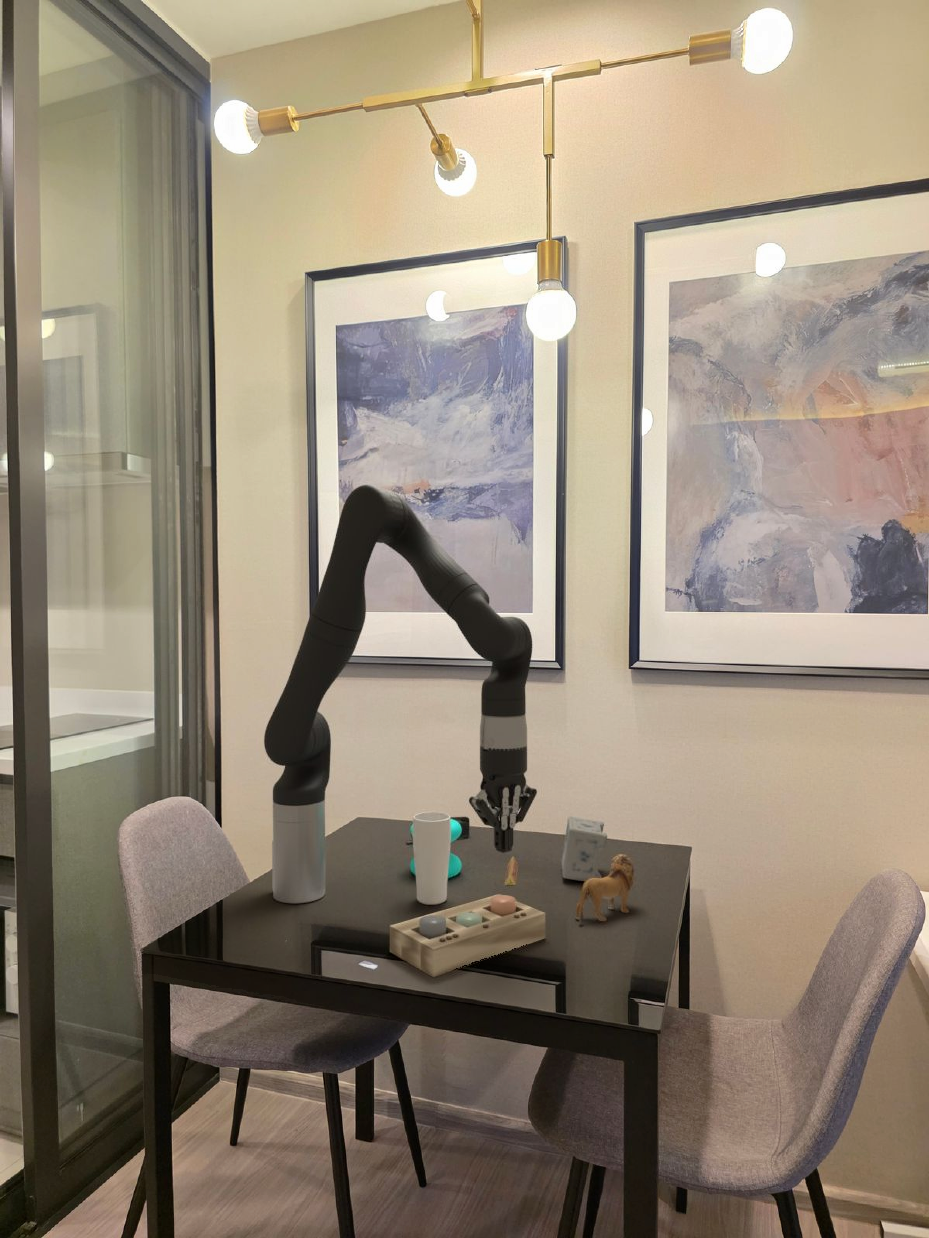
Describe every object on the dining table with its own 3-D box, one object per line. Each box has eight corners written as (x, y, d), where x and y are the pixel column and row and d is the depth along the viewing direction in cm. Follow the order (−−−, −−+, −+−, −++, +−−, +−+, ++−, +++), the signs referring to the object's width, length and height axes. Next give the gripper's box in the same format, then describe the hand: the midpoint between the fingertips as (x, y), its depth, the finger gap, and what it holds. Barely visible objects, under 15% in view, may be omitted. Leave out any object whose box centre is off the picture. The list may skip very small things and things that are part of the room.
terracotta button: (485, 917, 136) (485, 898, 136) (504, 911, 139) (504, 893, 139) (502, 924, 133) (502, 905, 133) (520, 918, 136) (520, 900, 136)
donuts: (406, 828, 161) (414, 814, 171) (406, 880, 161) (414, 864, 171) (458, 829, 160) (464, 816, 170) (458, 882, 160) (463, 865, 170)
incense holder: (607, 885, 159) (607, 830, 159) (562, 884, 160) (562, 829, 159) (603, 868, 169) (603, 816, 168) (561, 867, 169) (561, 815, 169)
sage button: (450, 935, 132) (450, 916, 132) (470, 929, 134) (470, 910, 134) (467, 943, 129) (467, 924, 129) (487, 937, 131) (487, 917, 131)
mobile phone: (466, 814, 193) (403, 819, 187) (471, 817, 190) (408, 822, 184) (466, 836, 193) (403, 841, 187) (471, 839, 190) (407, 845, 184)
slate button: (414, 939, 127) (414, 919, 127) (435, 932, 130) (435, 913, 130) (430, 947, 124) (430, 927, 124) (451, 940, 127) (451, 921, 127)
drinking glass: (417, 909, 147) (417, 822, 146) (409, 895, 153) (409, 812, 153) (455, 905, 148) (455, 819, 148) (445, 892, 155) (445, 810, 154)
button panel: (389, 951, 129) (389, 924, 129) (499, 917, 143) (499, 892, 143) (433, 977, 120) (433, 947, 120) (545, 938, 134) (545, 911, 134)
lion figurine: (615, 899, 152) (615, 849, 151) (641, 906, 148) (641, 855, 148) (566, 922, 141) (567, 868, 141) (594, 931, 137) (594, 875, 137)
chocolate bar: (502, 886, 159) (502, 874, 159) (506, 866, 171) (506, 855, 171) (516, 887, 159) (516, 875, 159) (519, 867, 171) (519, 855, 171)
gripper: (518, 735, 142) (518, 838, 143) (456, 744, 134) (456, 853, 134) (550, 741, 136) (550, 848, 137) (487, 750, 128) (487, 865, 129)
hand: (503, 850), depth 136 cm, fingers closed
